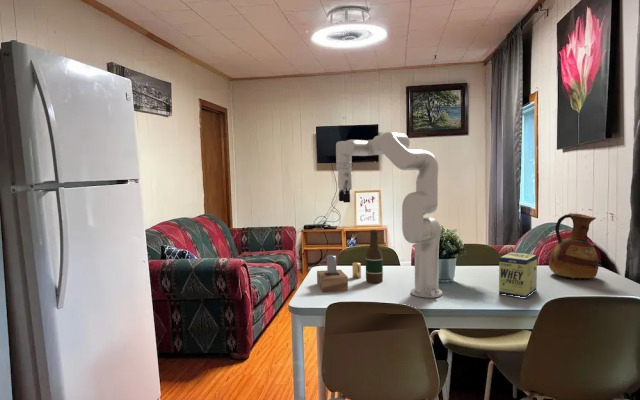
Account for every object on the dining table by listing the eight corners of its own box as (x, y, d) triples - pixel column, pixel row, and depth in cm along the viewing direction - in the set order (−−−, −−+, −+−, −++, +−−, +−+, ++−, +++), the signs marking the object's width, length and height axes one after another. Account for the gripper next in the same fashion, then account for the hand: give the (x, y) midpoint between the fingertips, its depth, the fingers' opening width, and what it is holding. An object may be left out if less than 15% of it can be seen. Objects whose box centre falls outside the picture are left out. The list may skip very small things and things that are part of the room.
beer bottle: (382, 284, 193) (382, 231, 192) (365, 283, 195) (364, 231, 193) (383, 279, 201) (382, 229, 199) (366, 279, 203) (366, 228, 201)
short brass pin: (361, 278, 204) (361, 263, 204) (353, 278, 203) (353, 264, 203) (359, 276, 208) (359, 262, 208) (351, 276, 207) (351, 262, 207)
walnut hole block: (347, 290, 183) (347, 276, 183) (322, 292, 182) (322, 278, 181) (340, 282, 197) (340, 269, 197) (317, 283, 195) (317, 270, 195)
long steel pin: (337, 288, 188) (337, 256, 187) (328, 288, 187) (328, 257, 186) (335, 285, 192) (335, 254, 191) (326, 286, 191) (326, 255, 190)
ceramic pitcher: (596, 284, 187) (598, 216, 185) (545, 278, 199) (546, 214, 197) (599, 275, 203) (601, 212, 201) (552, 270, 215) (553, 210, 213)
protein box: (498, 294, 174) (498, 257, 173) (510, 286, 186) (511, 251, 185) (525, 299, 167) (526, 260, 166) (537, 291, 179) (537, 254, 178)
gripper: (356, 166, 201) (356, 202, 202) (347, 166, 218) (347, 200, 219) (340, 166, 199) (340, 203, 200) (332, 167, 216) (333, 200, 217)
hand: (344, 201), depth 210 cm, fingers open, 9 cm apart
